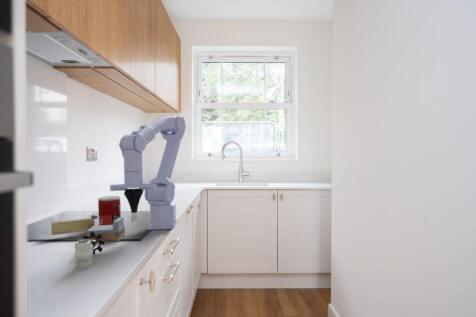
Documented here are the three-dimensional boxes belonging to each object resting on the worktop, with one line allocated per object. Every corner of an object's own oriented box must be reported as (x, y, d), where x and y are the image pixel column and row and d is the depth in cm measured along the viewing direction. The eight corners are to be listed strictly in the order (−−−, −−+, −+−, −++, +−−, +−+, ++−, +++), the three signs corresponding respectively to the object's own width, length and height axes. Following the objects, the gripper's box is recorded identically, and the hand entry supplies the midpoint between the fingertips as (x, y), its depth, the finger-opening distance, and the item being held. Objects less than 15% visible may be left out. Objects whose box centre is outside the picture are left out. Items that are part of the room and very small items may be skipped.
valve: (96, 269, 75) (106, 253, 87) (95, 242, 75) (105, 230, 87) (66, 272, 74) (80, 255, 85) (66, 245, 74) (80, 232, 85)
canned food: (116, 228, 114) (115, 199, 114) (95, 228, 114) (94, 199, 114) (124, 223, 122) (123, 195, 121) (104, 223, 122) (103, 196, 121)
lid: (124, 227, 104) (124, 217, 104) (118, 232, 98) (118, 221, 98) (94, 228, 104) (94, 218, 103) (86, 233, 97) (86, 222, 97)
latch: (97, 229, 107) (97, 215, 107) (51, 235, 101) (50, 220, 100) (97, 228, 108) (97, 214, 108) (52, 233, 102) (51, 219, 102)
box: (125, 235, 105) (124, 227, 105) (118, 241, 98) (118, 233, 98) (94, 236, 104) (94, 228, 104) (86, 242, 97) (86, 234, 97)
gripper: (106, 172, 95) (107, 215, 96) (153, 171, 97) (154, 213, 97) (113, 170, 102) (114, 211, 103) (157, 170, 104) (158, 209, 104)
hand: (134, 212), depth 100 cm, fingers closed
